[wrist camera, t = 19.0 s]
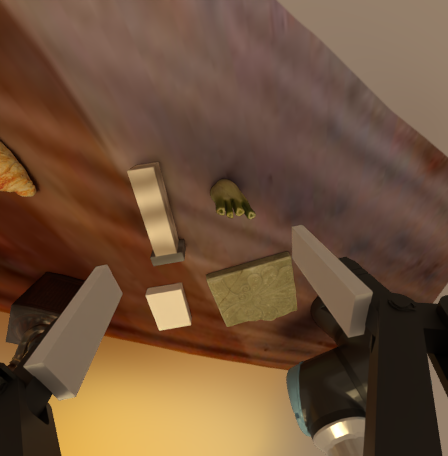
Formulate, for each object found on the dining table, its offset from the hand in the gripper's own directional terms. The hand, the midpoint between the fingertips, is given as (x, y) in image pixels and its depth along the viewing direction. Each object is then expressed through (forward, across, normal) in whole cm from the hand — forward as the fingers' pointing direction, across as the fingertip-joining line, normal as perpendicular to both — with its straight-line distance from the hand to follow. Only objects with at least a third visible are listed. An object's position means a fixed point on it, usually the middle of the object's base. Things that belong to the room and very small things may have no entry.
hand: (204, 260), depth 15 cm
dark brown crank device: (+26, -33, -18) cm, 46 cm away
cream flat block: (+26, -14, -23) cm, 37 cm away
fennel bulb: (+26, +4, -3) cm, 27 cm away
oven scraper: (+26, -9, -4) cm, 28 cm away
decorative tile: (+27, +7, -30) cm, 41 cm away
